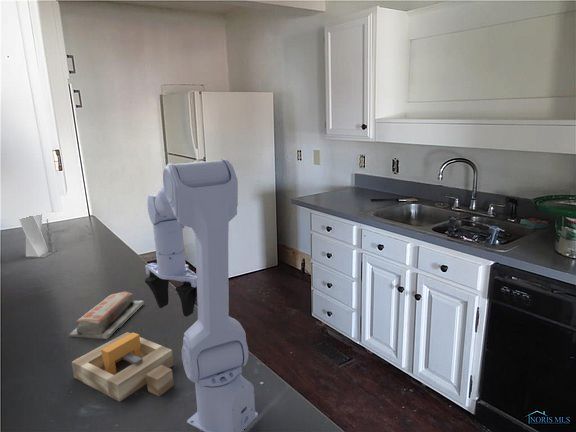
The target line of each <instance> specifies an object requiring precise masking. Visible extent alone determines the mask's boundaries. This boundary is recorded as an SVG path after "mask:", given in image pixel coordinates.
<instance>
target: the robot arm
mask: <svg viewBox="0 0 576 432" xmlns="http://www.w3.org/2000/svg"><path fill="white" fill-rule="evenodd" d="M162 182H163V184H162V185H163V186H161V188H160V190H159V191H158V193H157V194H148V197H147V212H148V216H149V219H150V222H151V224H152V228H153V235H154V246H155V254H156V256H155V258H156V263H155V262H151V263H148V264H146V265H145V266H144V267H145V274H146V275H149V276H148V277H146V278H144V282H145V283H146V285H147V286H148V287H149V289H150V290H151V292H152V294H153V297H154V298H155V302H156V303H157V305H158V308H159V309H162V308H164V307H166V306H168V305H169V283H170V281H177V282H181V283H182V284H181V285H178V286H176V287H175V291H176V293H177V294H178V297H179V299H180V303H181V309H182V313H183V316H184V317H186V318H187V317H189V316H191V315H193V314H194V310H195V305H196V300H197V319H196V321H195V322H194V323H193V324H192V325H191V326H190V327H189V328H188V329H187V330H186V331H184V333H183V338H182V341H183V342H182V347H181V360H182V365H183V369H184V372H185V375H186V376H187V379H188V380H189V381H191V382H192V383H194V386H195V397H196V398H195V399H196V408H197V411H196V412H195V413H194V414H193V415H192V416H191V417H189V418H188V419H187V420H186V423H187V424H188V425H191V426H193V427H194V428H197V429H198V430H200V431H203V432H242V431H243V432H244V431H245V430H246V429H247V428H248V427H249V426H250V425H251V424H252V423H253V422H254V421H255V420H254V419H255V418H256V419H257V418H258V417H259V413H258V411H256V403H255V387H254V385H253V382H251V381H249V380H248V379H246V378H245V377H244V376H243V375H242V373H243V371H242V370H243V368H242V367H245V366H246V365H247V363H248V360H249V347H248V342H247V337H246V336H247V335H246V334H247V333H246V331H245V329H244V328H243V326H242V324H241V323H240V322H239V321H238V320H237V319H235V318H233V317H231V316H230V315H229V314H230V313H229V311H230V309H229V303H230V302H229V287H230V285H229V284H230V283H229V230H230V229H229V228H230V227H229V226H230V225H229V224H230V221H232V220H233V219H234V218H235V217H236V216H237V214H238V204H239V203H238V199H239V197H238V194H239V193H238V192H239V191H238V187H239V186H238V185H239V183H238V182H239V181H238V177H237V174H236V171H235V167H234V166H233V165H232V163H231V162H230V161H229V160H228V159H226V158H221V159H219V160H209V161H208V160H207V161H198V162H197V161H196V162H187V163H185V162H184V163H173V162H172V163H167V164H166V165H165V167H164V169H163V172H162ZM185 227H188V228H191V229H192V232H193V233H194V239H195V241H194V242H195V267H196V268H195V269H196V271H195V272H196V273H195V272H194V271H192V270H191V269H190V268H189V264H186V253H185V241H184V229H185ZM253 420H254V421H253ZM251 422H252V423H251ZM250 423H251V424H250ZM249 424H250V425H249ZM248 425H249V426H248ZM247 426H248V427H247ZM245 428H246V429H245ZM244 429H245V430H244Z"/></svg>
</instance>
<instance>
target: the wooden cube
mask: <svg viewBox="0 0 576 432" xmlns="http://www.w3.org/2000/svg"><path fill="white" fill-rule="evenodd" d="M173 376H174V375H173V369H172V368H171V367H170V368H168V367H165V366H163V365H160V366H158V367H157V368H155V369H154V370H152V371H151V372H149V373H148V374H146V379H147V384H146V387H147V391H148V392H149V393H151V394H153V395H155V396H157V397H160V396H162V395H164V394H165V393H166V392H167V391H169V390H170V389H171V388H173V386H174V377H173Z"/></svg>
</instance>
